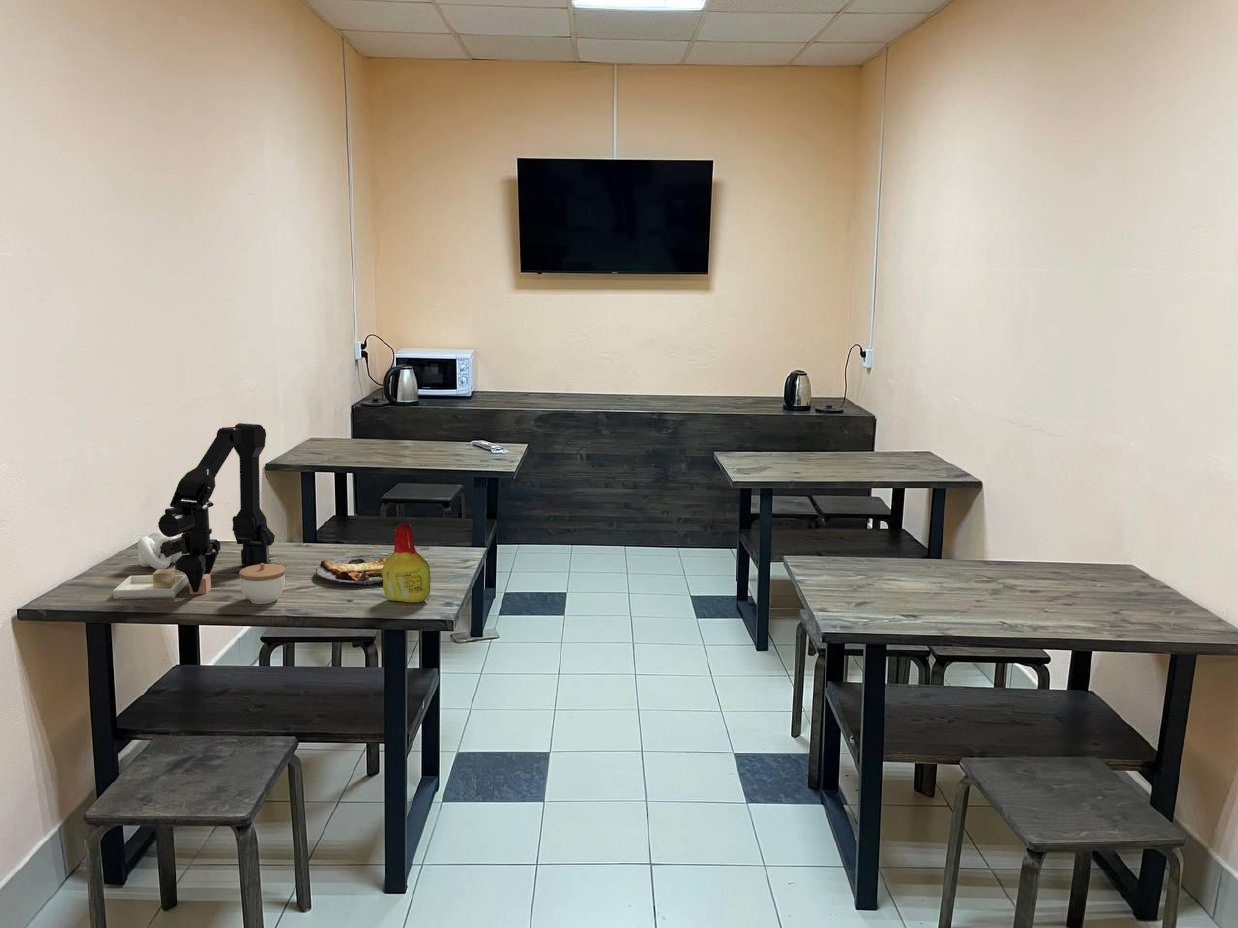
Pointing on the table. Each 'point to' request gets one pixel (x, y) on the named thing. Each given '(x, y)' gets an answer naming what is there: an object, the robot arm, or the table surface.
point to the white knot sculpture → (155, 551)
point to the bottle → (405, 570)
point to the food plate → (353, 569)
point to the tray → (147, 588)
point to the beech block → (164, 578)
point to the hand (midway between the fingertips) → (200, 586)
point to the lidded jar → (262, 582)
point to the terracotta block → (203, 585)
